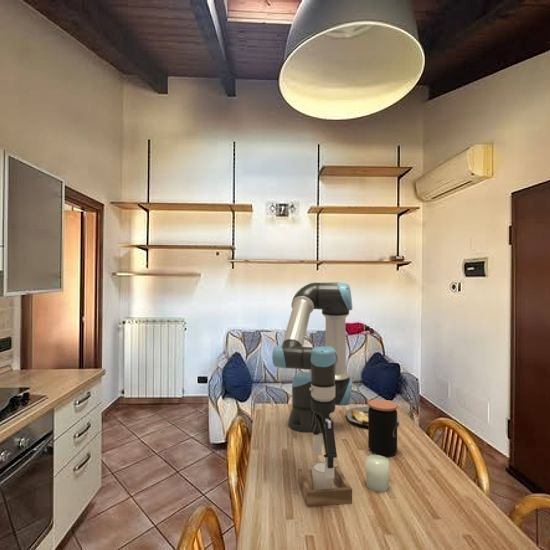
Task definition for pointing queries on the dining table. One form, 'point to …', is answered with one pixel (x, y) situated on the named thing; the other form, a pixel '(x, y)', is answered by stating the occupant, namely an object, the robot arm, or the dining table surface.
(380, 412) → the coffee jar
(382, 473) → the cream rounded cylinder
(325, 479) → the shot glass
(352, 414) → the food plate
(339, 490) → the bay
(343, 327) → the robot arm
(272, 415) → the dining table surface
